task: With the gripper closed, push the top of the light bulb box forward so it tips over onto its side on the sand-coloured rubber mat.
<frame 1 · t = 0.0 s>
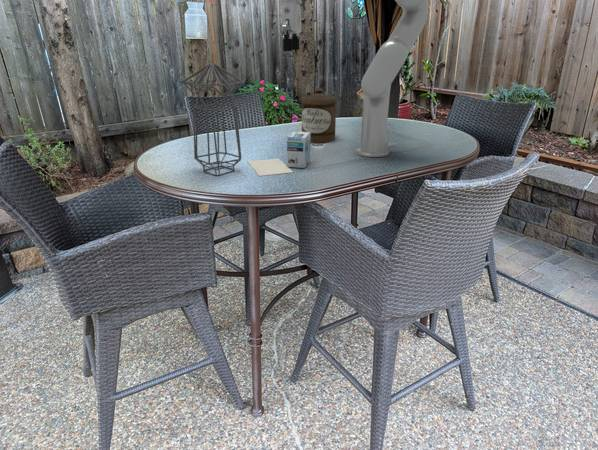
hand: (291, 50, 161), 37 cm above the table, tool pointing down, fingers open, 9 cm apart
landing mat: (269, 167, 152), on the table
geometric lantern: (220, 171, 149), on the table
wooden container: (318, 139, 191), on the table
light bulb box: (298, 164, 155), on the table, touching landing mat
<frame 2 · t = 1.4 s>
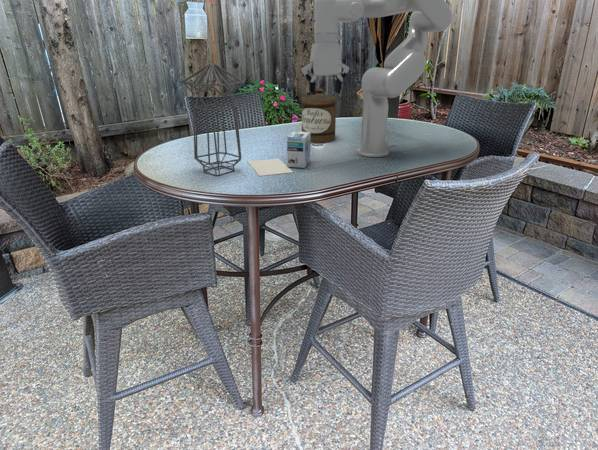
hand: (325, 93, 148), 24 cm above the table, tool pointing down, fingers open, 8 cm apart
nothing on the table moved.
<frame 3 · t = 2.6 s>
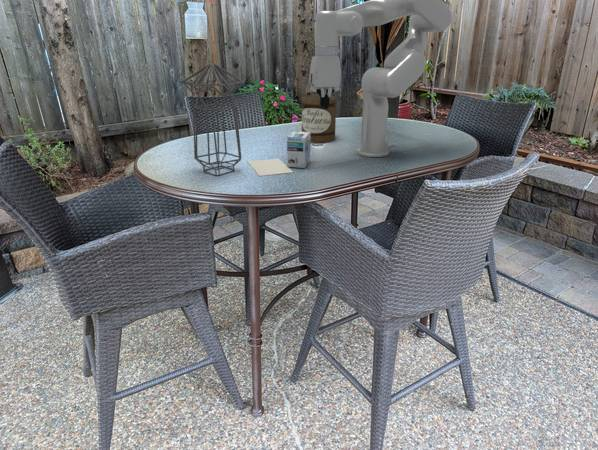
hand: (324, 108, 150), 19 cm above the table, tool pointing down, fingers closed
nothing on the table moved.
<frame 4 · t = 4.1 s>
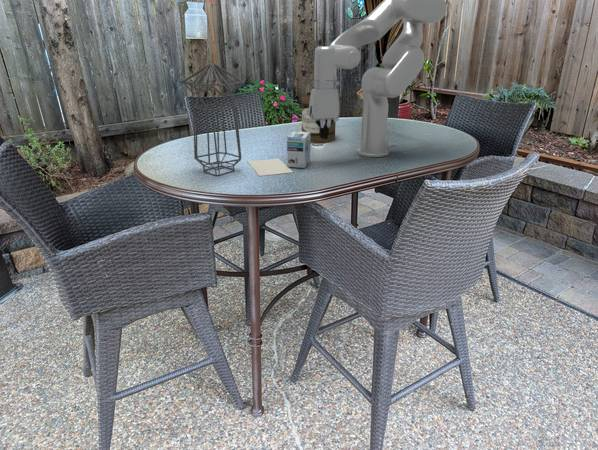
hand: (323, 138, 154), 9 cm above the table, tool pointing down, fingers closed
nothing on the table moved.
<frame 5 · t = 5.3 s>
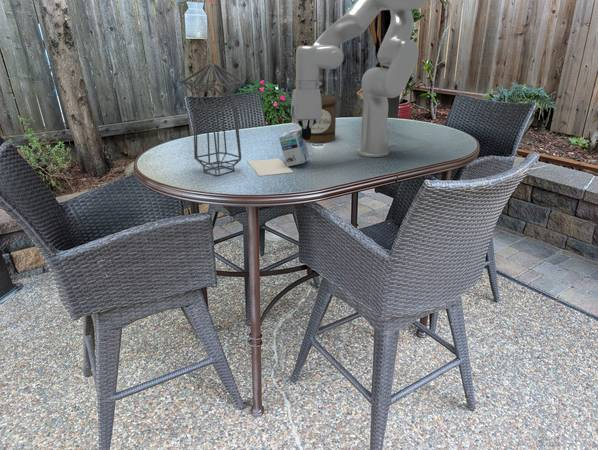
hand: (306, 139, 152), 9 cm above the table, tool pointing down, fingers closed
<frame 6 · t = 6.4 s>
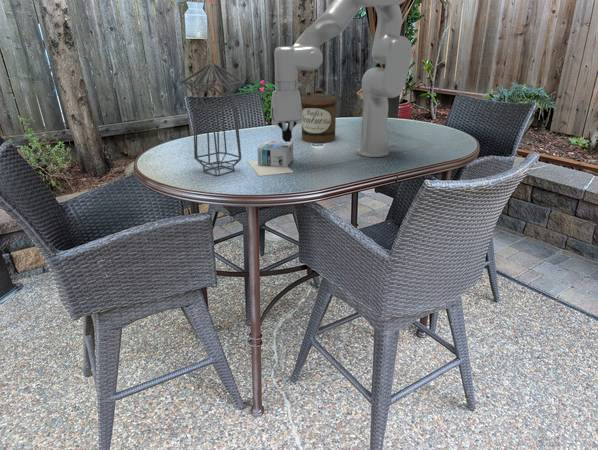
hand: (287, 141, 150), 9 cm above the table, tool pointing down, fingers closed
light bulb box: (290, 154, 154), point 3 cm above the table, touching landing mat
everything else where it was.
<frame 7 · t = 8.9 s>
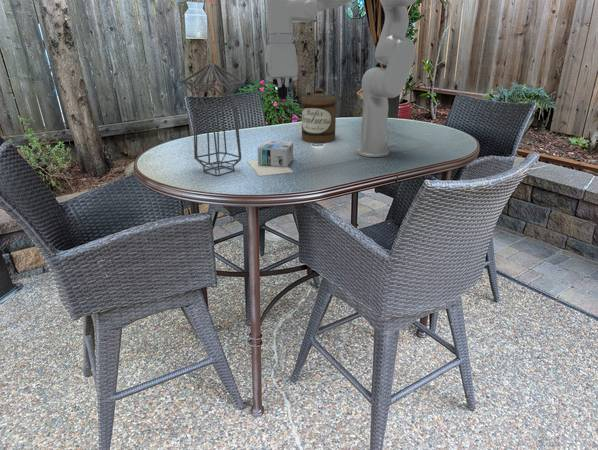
hand: (282, 99, 144), 23 cm above the table, tool pointing down, fingers closed
nothing on the table moved.
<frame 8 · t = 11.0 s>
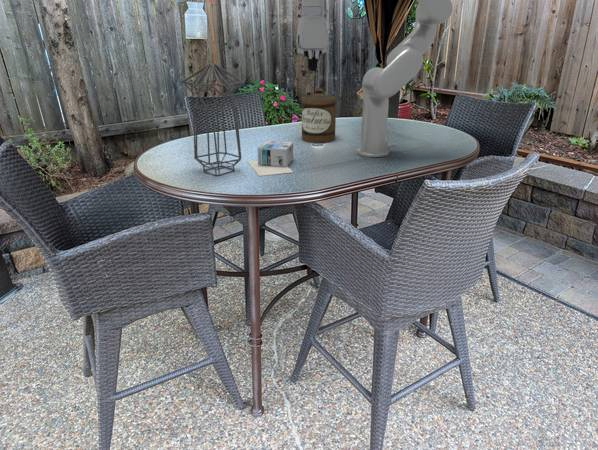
hand: (312, 70, 152), 31 cm above the table, tool pointing down, fingers closed
nothing on the table moved.
at the end: light bulb box tilted 89°; light bulb box touching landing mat; the gripper is holding nothing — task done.
